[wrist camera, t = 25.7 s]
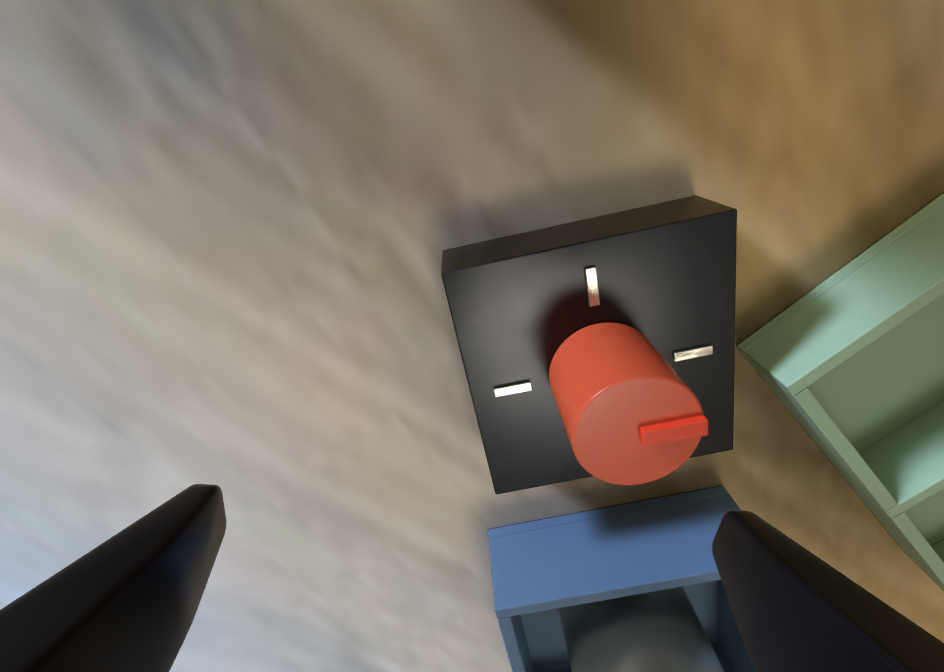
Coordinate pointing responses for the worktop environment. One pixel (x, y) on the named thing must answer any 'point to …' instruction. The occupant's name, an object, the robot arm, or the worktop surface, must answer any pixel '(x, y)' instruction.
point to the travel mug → (638, 635)
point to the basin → (610, 572)
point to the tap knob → (624, 405)
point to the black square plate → (592, 321)
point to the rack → (874, 379)
